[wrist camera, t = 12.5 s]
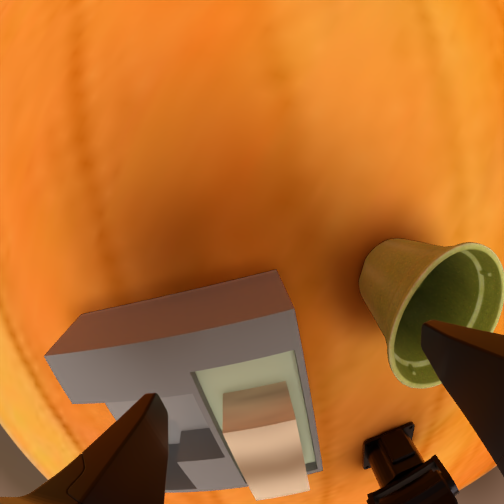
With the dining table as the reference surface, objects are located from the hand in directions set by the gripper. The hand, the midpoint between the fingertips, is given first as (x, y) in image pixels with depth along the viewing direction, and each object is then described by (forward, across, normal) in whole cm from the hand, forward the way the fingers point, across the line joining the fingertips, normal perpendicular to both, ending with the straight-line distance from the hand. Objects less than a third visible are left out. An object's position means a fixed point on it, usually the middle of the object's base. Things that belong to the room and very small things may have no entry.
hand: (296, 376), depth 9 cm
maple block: (+7, +2, +11) cm, 13 cm away
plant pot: (+13, -10, +4) cm, 17 cm away
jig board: (+13, +7, +9) cm, 17 cm away
